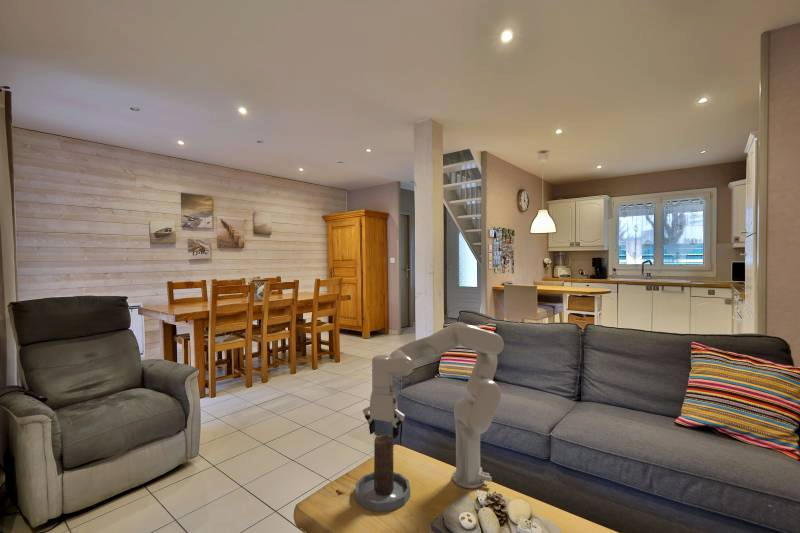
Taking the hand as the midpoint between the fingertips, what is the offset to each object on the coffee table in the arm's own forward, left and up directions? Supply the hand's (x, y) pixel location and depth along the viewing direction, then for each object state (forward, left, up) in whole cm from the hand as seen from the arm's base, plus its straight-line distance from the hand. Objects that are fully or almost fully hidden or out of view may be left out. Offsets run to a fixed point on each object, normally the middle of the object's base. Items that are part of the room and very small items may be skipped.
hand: (383, 434), depth 136 cm
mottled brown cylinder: (0, 0, -21) cm, 21 cm away
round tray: (0, 0, -22) cm, 22 cm away
